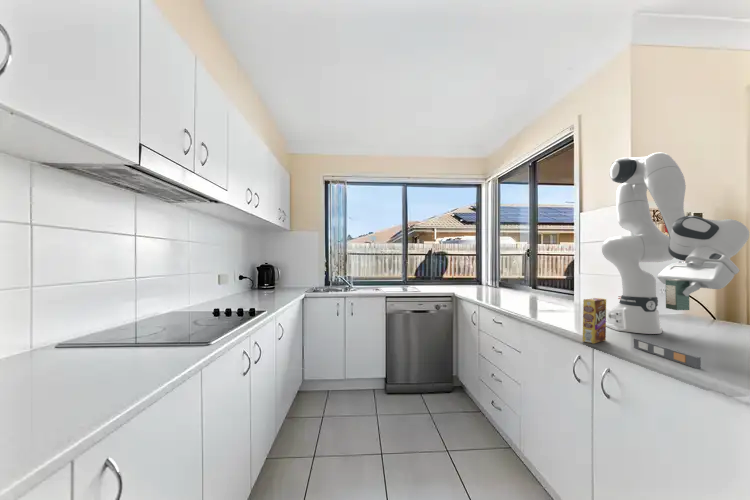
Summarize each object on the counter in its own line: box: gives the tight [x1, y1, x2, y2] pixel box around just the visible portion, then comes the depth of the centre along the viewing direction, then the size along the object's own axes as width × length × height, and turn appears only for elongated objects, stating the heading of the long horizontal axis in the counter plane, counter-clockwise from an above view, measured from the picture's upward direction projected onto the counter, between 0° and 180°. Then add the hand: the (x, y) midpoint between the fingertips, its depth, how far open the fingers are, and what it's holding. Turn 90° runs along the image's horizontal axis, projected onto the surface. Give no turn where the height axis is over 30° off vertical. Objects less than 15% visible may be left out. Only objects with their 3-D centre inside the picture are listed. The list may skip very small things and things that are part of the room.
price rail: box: [633, 337, 702, 369], centre depth 108 cm, size 22×1×3 cm, turn 3°
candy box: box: [582, 297, 607, 345], centre depth 127 cm, size 9×4×15 cm, turn 123°
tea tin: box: [665, 279, 690, 311], centre depth 111 cm, size 4×4×9 cm
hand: (675, 293), depth 111 cm, fingers closed on tea tin, 4 cm apart
